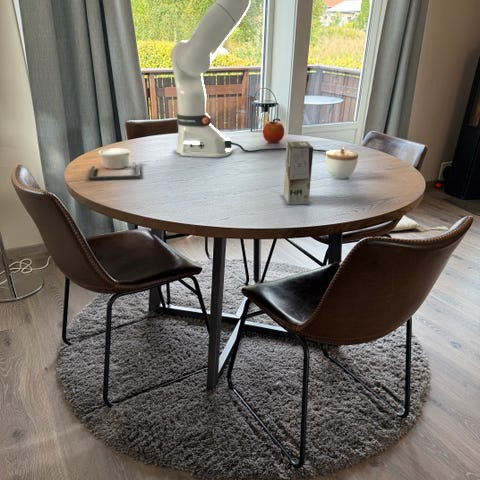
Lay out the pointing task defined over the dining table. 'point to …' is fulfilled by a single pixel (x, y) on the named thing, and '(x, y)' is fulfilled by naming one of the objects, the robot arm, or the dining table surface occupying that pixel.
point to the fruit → (273, 131)
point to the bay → (92, 178)
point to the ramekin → (115, 158)
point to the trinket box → (341, 163)
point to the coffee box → (298, 172)
